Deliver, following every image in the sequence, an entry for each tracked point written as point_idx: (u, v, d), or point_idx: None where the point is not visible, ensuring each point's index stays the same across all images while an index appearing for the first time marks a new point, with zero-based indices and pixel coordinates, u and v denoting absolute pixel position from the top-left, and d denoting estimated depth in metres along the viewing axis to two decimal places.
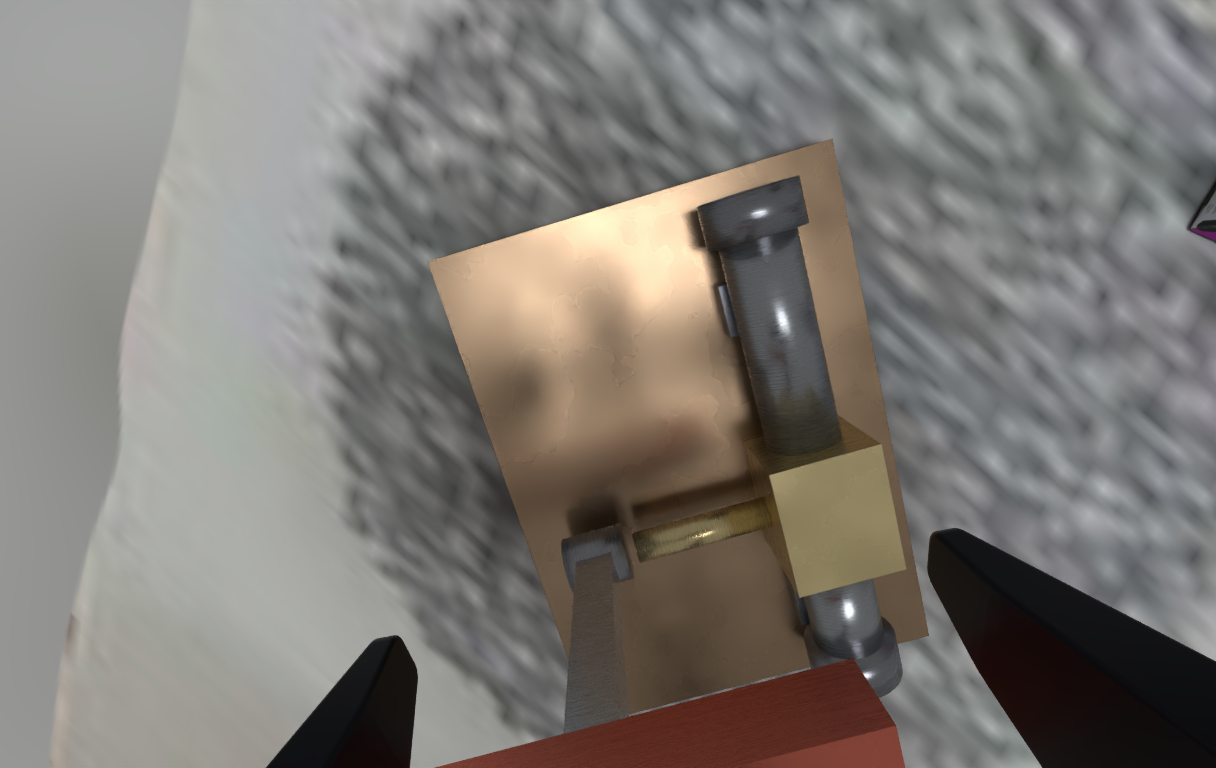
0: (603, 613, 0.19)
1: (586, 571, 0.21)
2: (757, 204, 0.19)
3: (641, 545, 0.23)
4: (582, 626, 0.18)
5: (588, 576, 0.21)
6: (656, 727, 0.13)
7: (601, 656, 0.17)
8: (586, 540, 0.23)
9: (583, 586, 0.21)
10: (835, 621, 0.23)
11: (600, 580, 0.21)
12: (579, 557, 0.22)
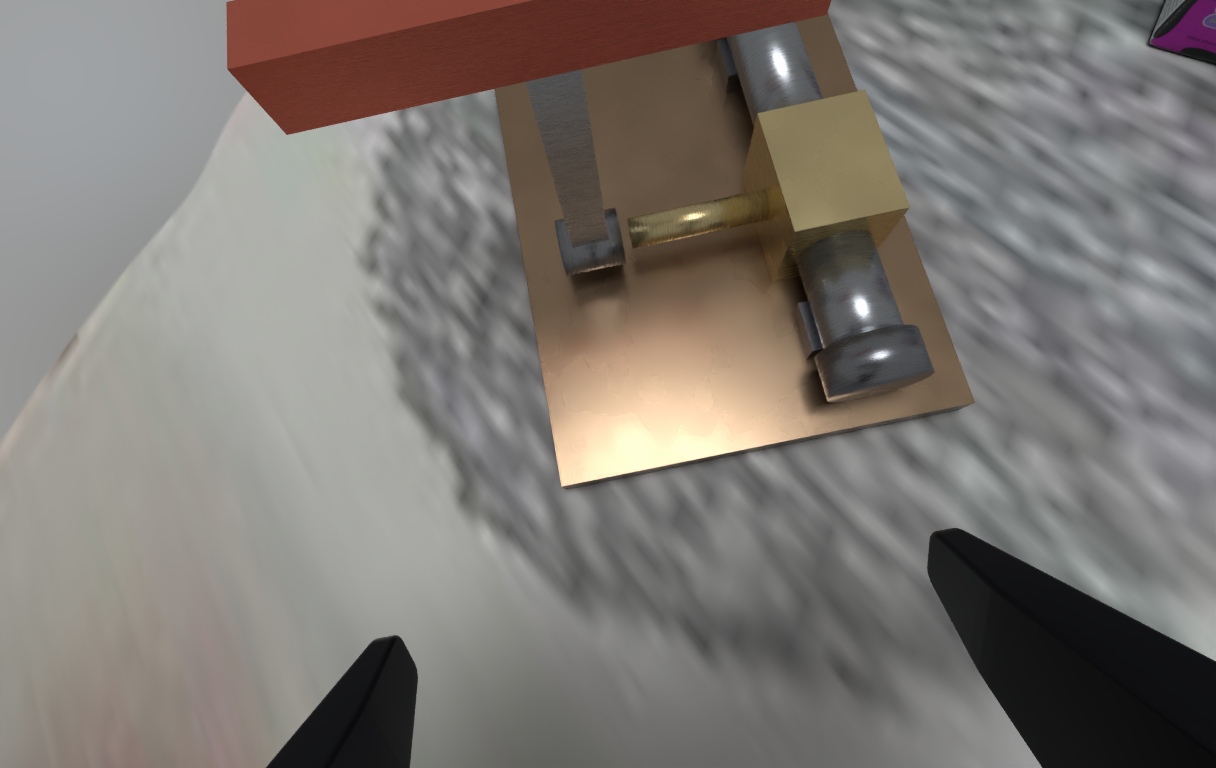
0: None
1: None
2: None
3: (634, 218, 0.23)
4: None
5: None
6: None
7: None
8: None
9: None
10: (842, 291, 0.20)
11: None
12: None
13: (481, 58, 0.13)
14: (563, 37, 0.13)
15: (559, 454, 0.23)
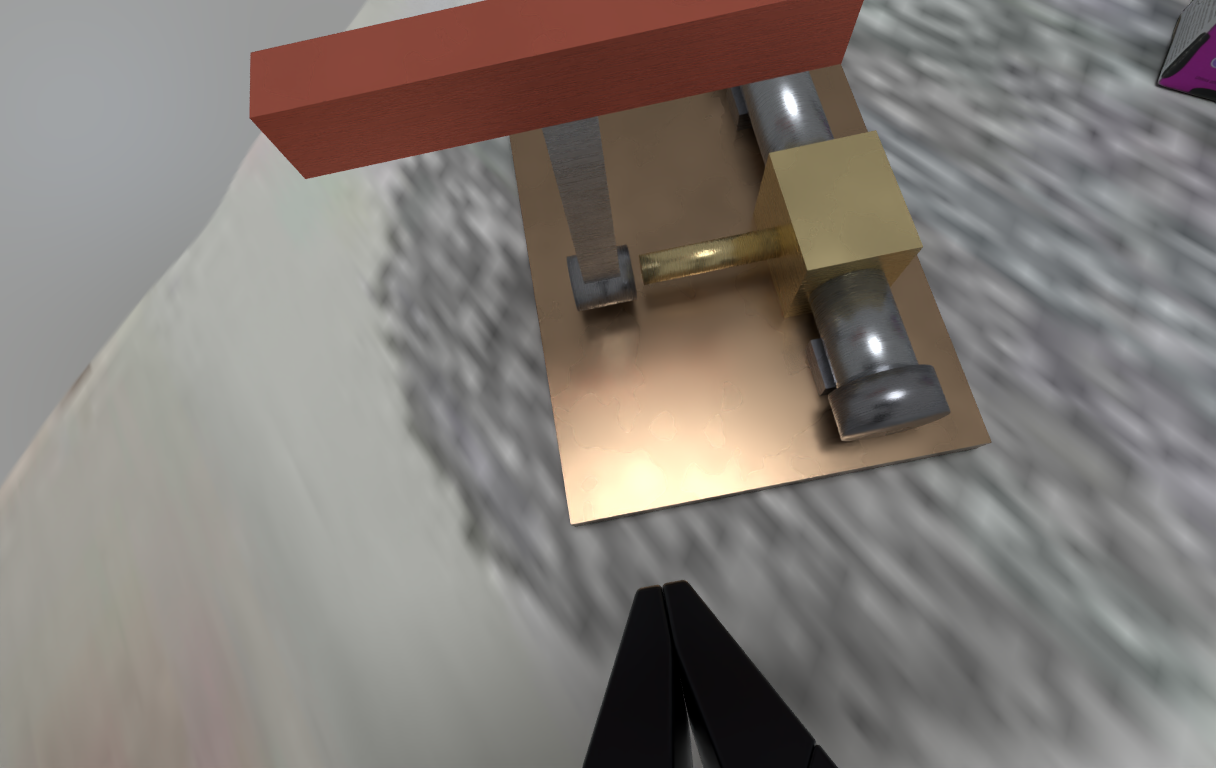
0: None
1: None
2: None
3: (645, 255, 0.23)
4: None
5: None
6: None
7: None
8: None
9: None
10: (855, 330, 0.20)
11: None
12: None
13: (499, 106, 0.13)
14: (580, 86, 0.13)
15: (569, 491, 0.23)
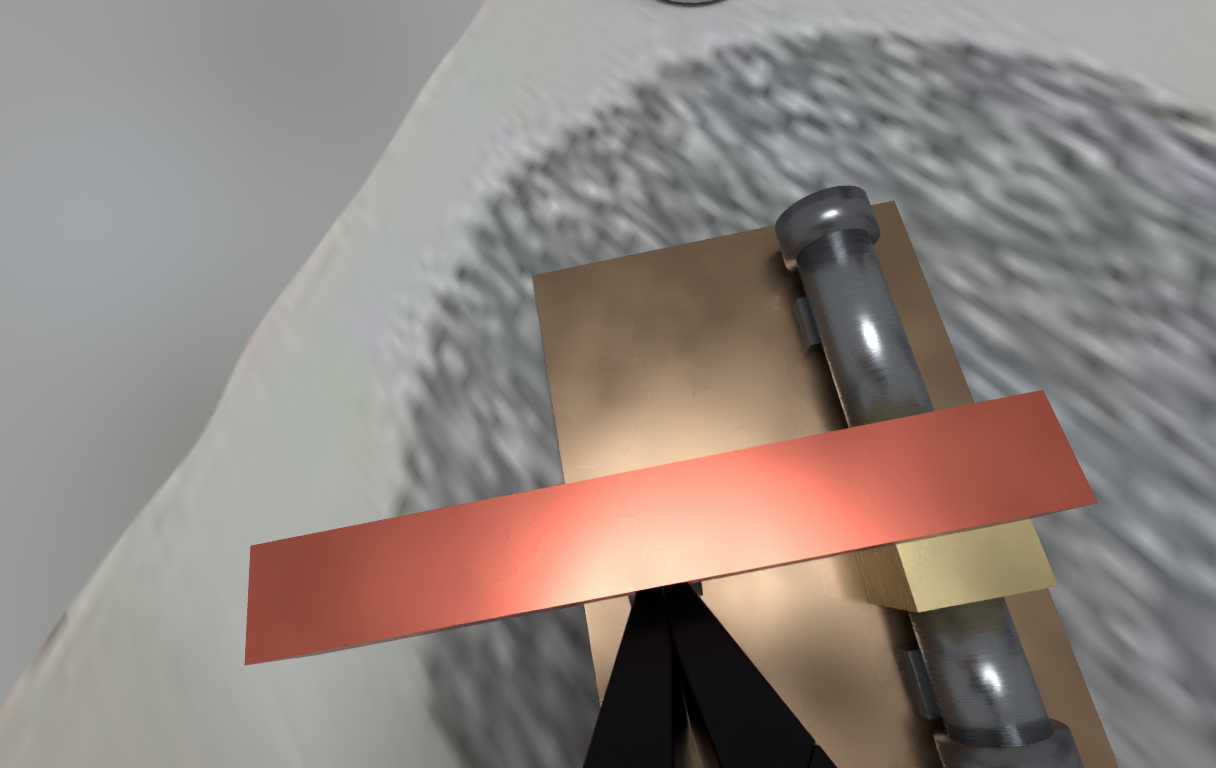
0: None
1: None
2: (830, 200, 0.21)
3: None
4: None
5: None
6: None
7: None
8: None
9: None
10: (974, 679, 0.17)
11: None
12: None
13: (577, 604, 0.10)
14: None
15: None
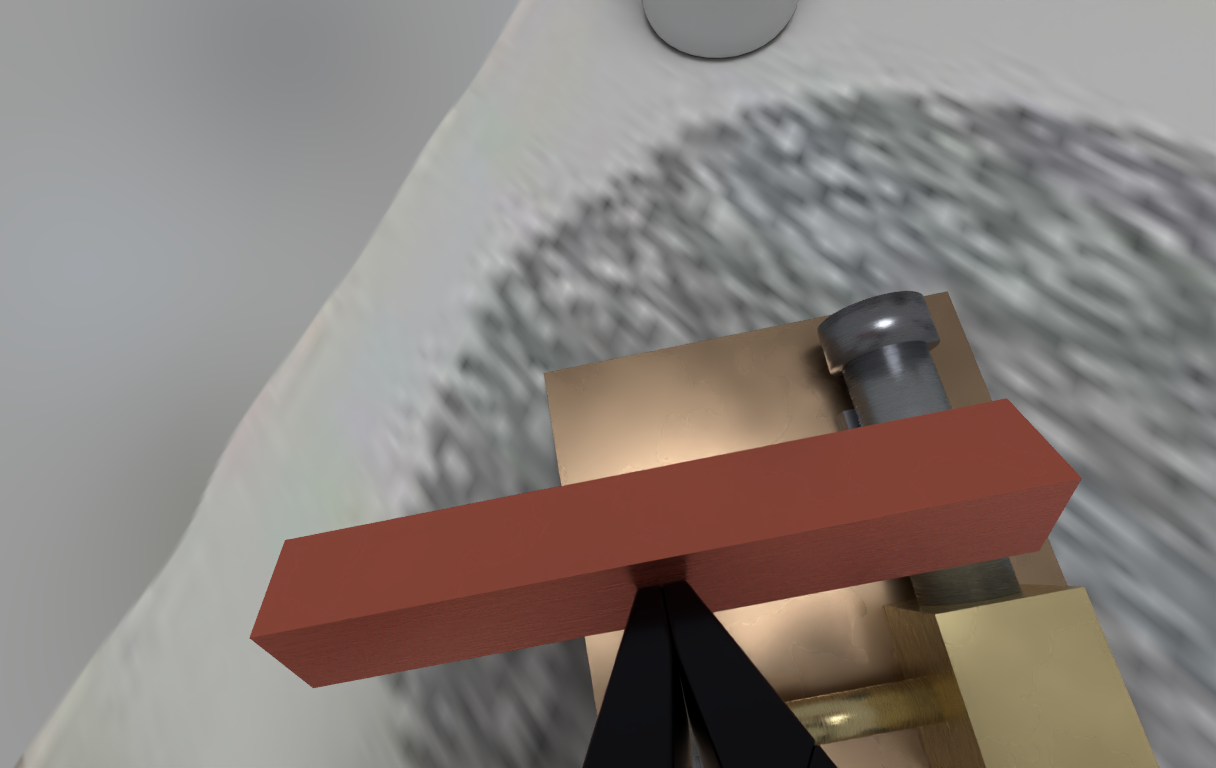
0: None
1: None
2: (885, 309, 0.19)
3: None
4: None
5: None
6: None
7: None
8: None
9: None
10: None
11: None
12: None
13: (577, 611, 0.10)
14: None
15: None
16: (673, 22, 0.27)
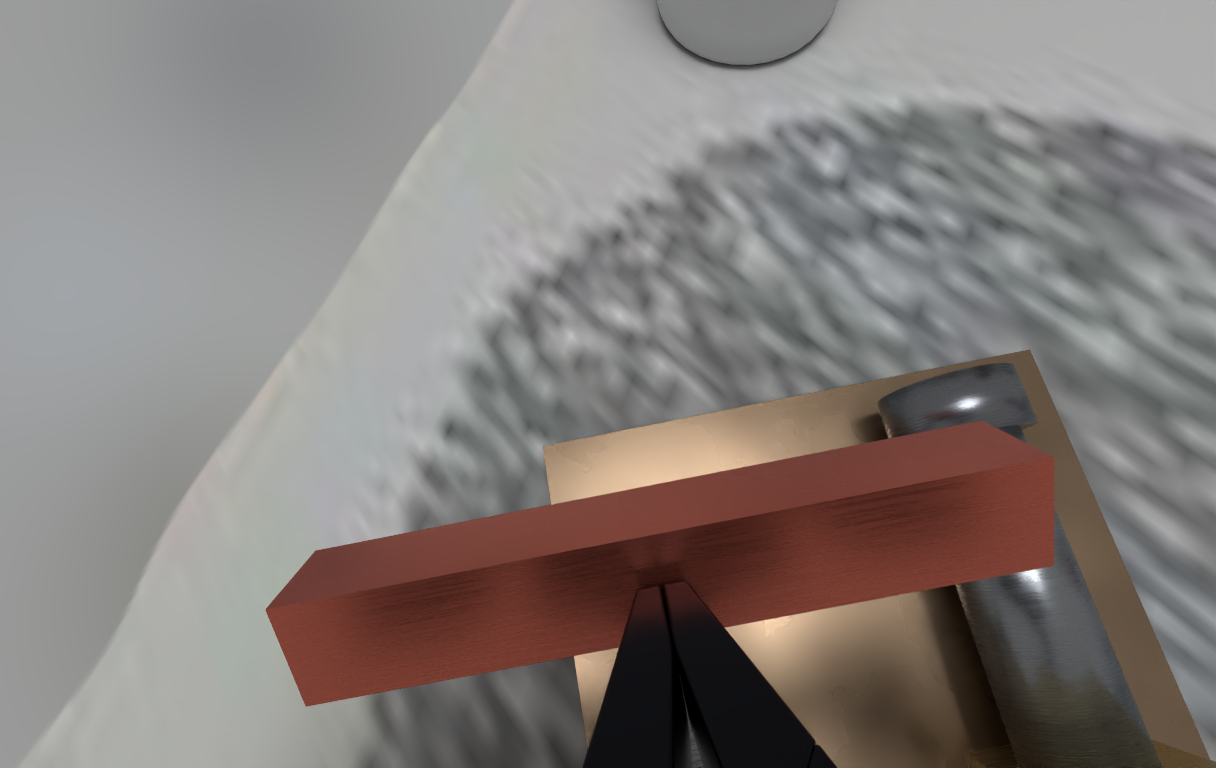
0: None
1: None
2: (972, 387, 0.15)
3: None
4: None
5: None
6: None
7: None
8: None
9: None
10: None
11: None
12: None
13: (578, 609, 0.10)
14: None
15: None
16: (694, 23, 0.23)
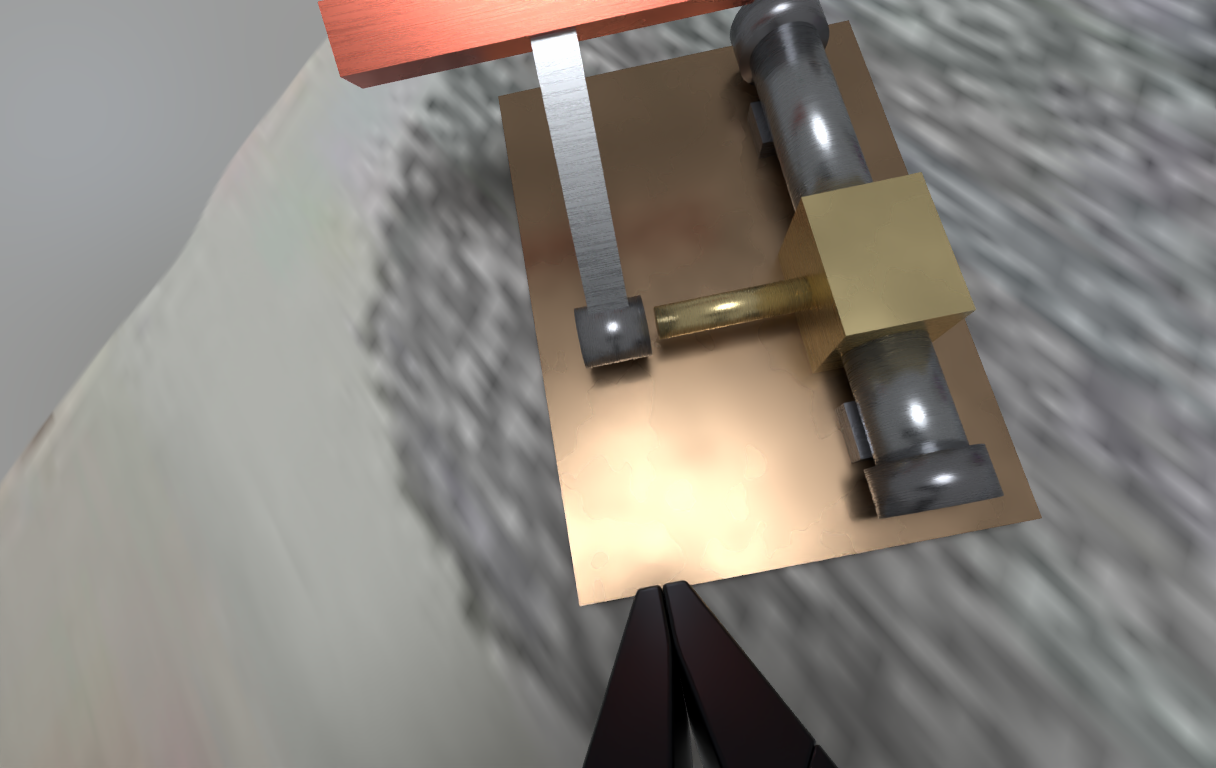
0: None
1: None
2: None
3: (661, 308, 0.20)
4: None
5: None
6: None
7: None
8: None
9: None
10: (897, 401, 0.18)
11: None
12: None
13: (496, 7, 0.17)
14: None
15: (577, 568, 0.21)
16: None
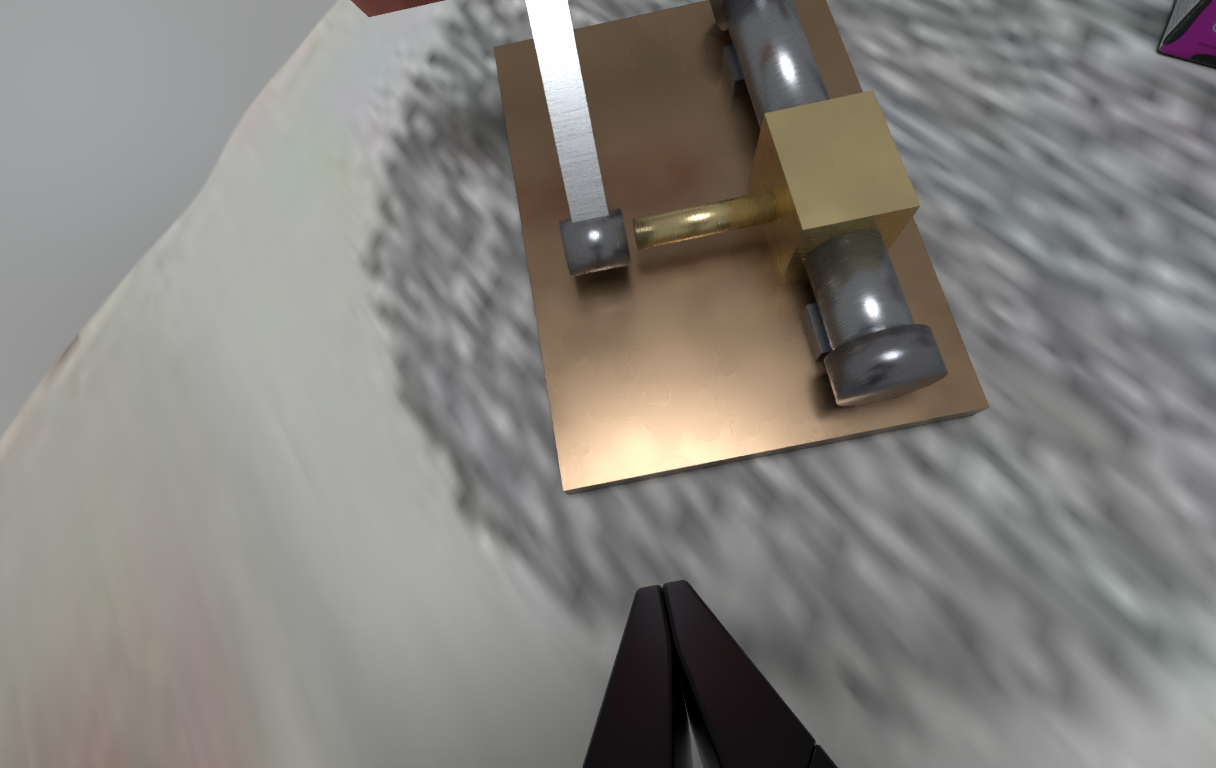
0: None
1: None
2: None
3: (639, 219, 0.22)
4: None
5: None
6: None
7: None
8: None
9: None
10: (851, 291, 0.20)
11: None
12: None
13: None
14: None
15: (561, 458, 0.22)
16: None
